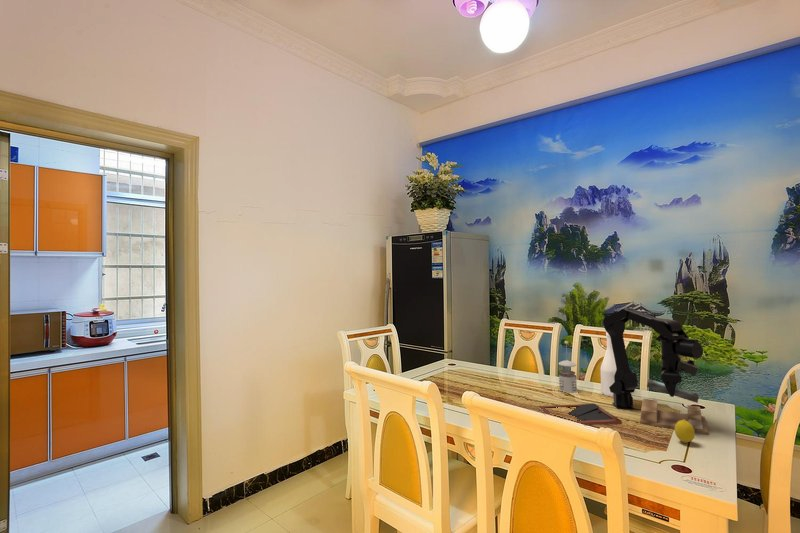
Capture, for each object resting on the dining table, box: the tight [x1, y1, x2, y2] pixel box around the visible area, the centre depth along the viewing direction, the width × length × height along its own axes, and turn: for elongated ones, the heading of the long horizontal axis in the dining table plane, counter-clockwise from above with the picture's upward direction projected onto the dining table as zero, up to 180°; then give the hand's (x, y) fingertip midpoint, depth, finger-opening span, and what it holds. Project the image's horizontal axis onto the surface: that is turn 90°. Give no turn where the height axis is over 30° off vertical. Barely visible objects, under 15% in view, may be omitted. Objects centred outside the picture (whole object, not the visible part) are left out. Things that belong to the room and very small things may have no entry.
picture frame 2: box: [646, 378, 700, 404], centre depth 151 cm, size 16×5×2 cm, turn 56°
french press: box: [558, 340, 579, 393], centre depth 196 cm, size 10×12×25 cm
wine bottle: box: [600, 331, 616, 398], centre depth 189 cm, size 10×10×30 cm
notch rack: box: [639, 398, 709, 435], centre depth 155 cm, size 21×17×5 cm
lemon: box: [674, 419, 696, 444], centre depth 136 cm, size 6×6×8 cm
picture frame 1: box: [537, 403, 623, 426], centre depth 164 cm, size 20×2×25 cm
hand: (671, 394), depth 151 cm, fingers closed on picture frame 2, 5 cm apart
